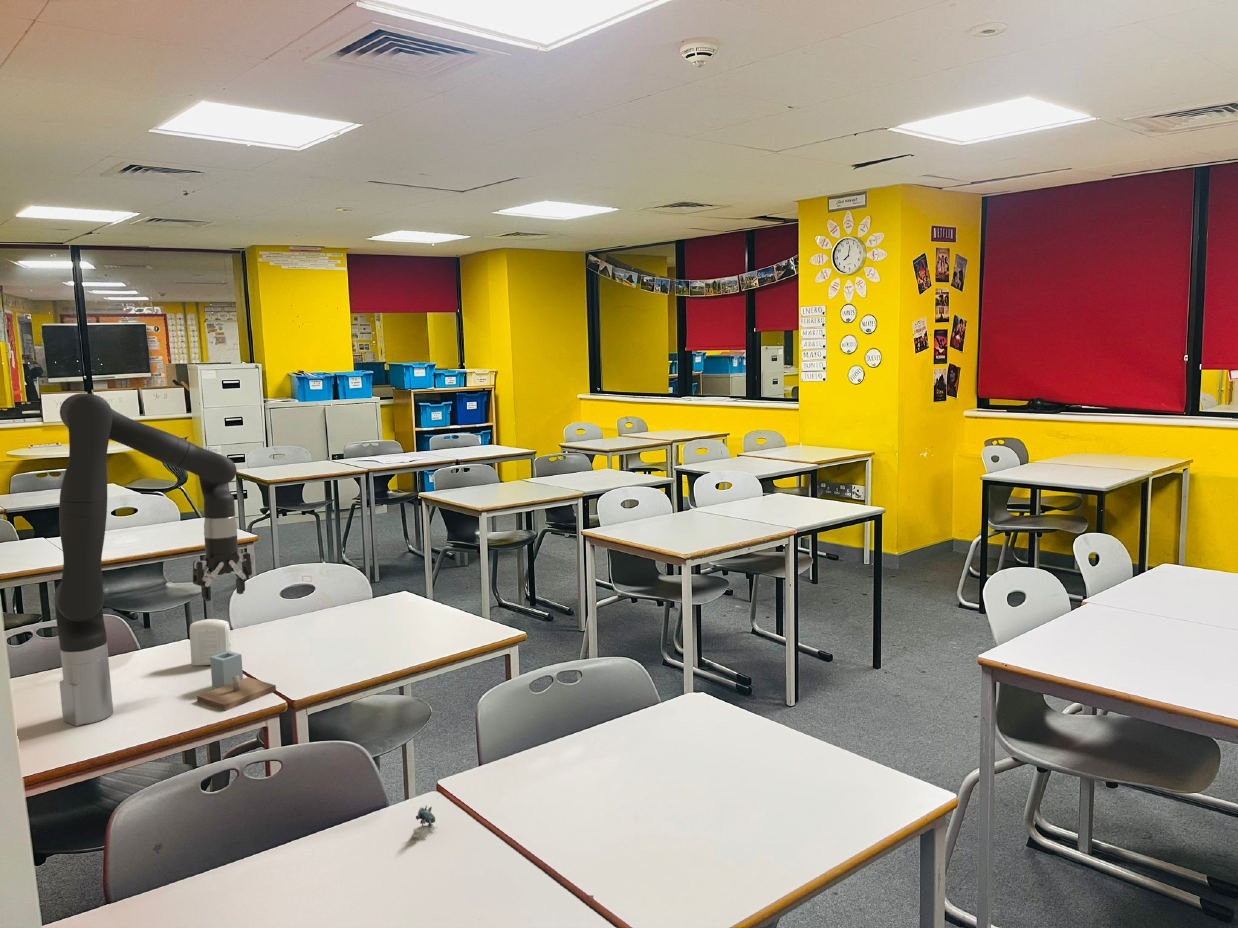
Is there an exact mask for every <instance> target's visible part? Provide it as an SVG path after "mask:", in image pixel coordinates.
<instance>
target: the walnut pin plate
mask: <svg viewBox="0 0 1238 928" xmlns="http://www.w3.org/2000/svg"><path fill="white" fill-rule="evenodd" d="M276 691H277V685H275V684H273V683H269V682H265V681H262V680H258V679H255V678H252V677H249V676H247V677H245V678H244V677H243V679H242V680H239V676H233V683H231V684H228V685H225V686H222V687H220V688H217V689H215V688H213V689H211V690H209V691H206V692H203V693H201V694H198V695H196V701H197V703H200V704H203V705H206V706H209V707H212V708H215V709H218V710H222V711H224V712H225V711H228V710H231V709H234V708H237V707H238V706H241V705H245V704H246V703H248V702H251V701H254V700H256V699H257V700H258V699H260V698H262V697H264V696H267V695H269V694H272V693H275V692H276Z"/></svg>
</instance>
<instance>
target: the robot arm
mask: <svg viewBox="0 0 1238 928" xmlns="http://www.w3.org/2000/svg"><path fill="white" fill-rule="evenodd" d="M59 417H60V419H61V421H62V423H63V424H64V426H65V427H66V428H67V429H68V443H69V444H68V446H69V448H68V450H69V452H68V453H69V455H68V462H67V465H66V469H65V472H64V474H63V479H62V482H61V486H60V492H59V509H58V511H59V512H58V520H59V523H58V524H59V525H58V526H59V534H60V542H61V549H62V557H63V564H62V565H63V566H62V567H63V568H62V575H61V582H60V583H59V584H58V585H57V587H56V589H55V591H54V608H55V609H54V610H55V611H54V612H55V619H56V626H57V627H56V628H57V629H56V630H57V636H58V642H59V649H60V659H61V660H60V661H61V668H62V679H63V680H60V681H59V691H60V701H61V703H60V704H61V713H62V720H63V722H65V723H67V724H70V725H73V726H75V727H78V726H81V725H87V724H92V723H97V722H100V721H102V720H105V719H108V718H109V717H110V716H112V715H113V714H114V705H113V696H112V683H111V673H110V662H109V661H110V660H109V652H108V651H109V650H108V639H107V629H106V626H105V625H106V624H105V619H104V611H103V605H104V602H105V601H104V600H105V593H104V585H103V571H102V569H103V568H102V558H103V557H102V556H103V550H104V549H103V548H104V544H105V543H104V541H105V537H106V535H105V534H106V528H107V527H106V525H107V515H108V465H107V464H108V463H107V462H108V461H107V459H108V457H107V456H108V449H109V448H108V447H109V441H114V442H117V443H119V444H121V445H124V446H125V447H129V448H130V449H132V450H135V451H137V452H140V453H141V454H143V455H146V456H147V457H150V458H152V459H154V460H156V461H159V462H161V463H163V464H165V465H168V466H170V467H172V468H173V467H174V468H176V469H178V470H182V471H185V472H189V473H192V474H193V475H195V476H198V480H199V484H200V489H201V492H202V493H201V494H202V497H203V511H204V513H203V514H204V515H203V516H204V522H203V535H204V550H205V552H204V554H205V559H204V560H200V561H199V560H193V562H192V583H193V585H195V586H200V589H201V598H202V599H203V600H204V601H206V602H210V601H212V594H211V593H212V592H211V586H210V585H211V583H213V580H215V579H216V578H217V576H220V575H221V576H222V575H225V574H233V575H234V576H235V578H236V579H235V586H236V587H235V590H236V594H238V595H243V594H244V592H245V590H246V578H247V577H251V576H253V568H252V561H251V560H252V559H251V558H252V557H251V553H249V552H245V551H242V552H241V553H238V550H239V548H238V547H239V543H238V525H237V520H236V519H237V518H236V509H235V507H236V506H235V505H236V504H235V497H234V495H233V494H232V493H231V491H230V488H229V487H230V486H229V485H230V484H229V483H231V482H232V481H233V480H234V479H235V478H236V475H237V471H238V470H237V466H236V464H235V463H234V460H232V459H230V458H229V457H227V456H225V455H222V454H220V453H217V452H214V451H211V450H210V449H206V448H203V447H200V446H198V445H196V444H194V443H193V442H190V441H188V440H186V439H183V438H182V437H179V436H177V435H175V434H172V433H170V432H168V431H165V430H162V429H160V428H156V427H153V426H150V425H148V424H145V423H142V422H138V421H137V420H135V419H132V418H130V417H127V416H126V415H123V414H121V413H119V412H118V411H116V410H115V409H113V408H112V407H111V406H110V404H109V403H108V401H107V400H106V399H105V398H103V397H101V396H100V395H97V394H93V393H87V392H86V393H85V392H84V393H82V392H81V393H75V394H73V395H70V396H68V397H66V399H64V400H63V402H62V403H61V405H60V407H59ZM239 561H240V562H241V568H240V567H239V566H238V562H239ZM205 566H206V568H207V569H205ZM204 569H205V570H206V571H204ZM203 571H204V575H203Z"/></svg>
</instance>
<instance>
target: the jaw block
mask: <svg viewBox="0 0 1238 928" xmlns="http://www.w3.org/2000/svg"><path fill="white" fill-rule="evenodd" d="M242 658H243V657H242V654H241V653H237V652H234V651H232V650H231V651H227V652H224V653H221V654H218V655H215V656H212V657H210V663H211V665H210V672H211V685H212V687H211V688H212V689H217V688H220V687H222V686H225V685H228V684H231V683H233V676H239V680H242V679H244V672H243V659H242Z"/></svg>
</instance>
